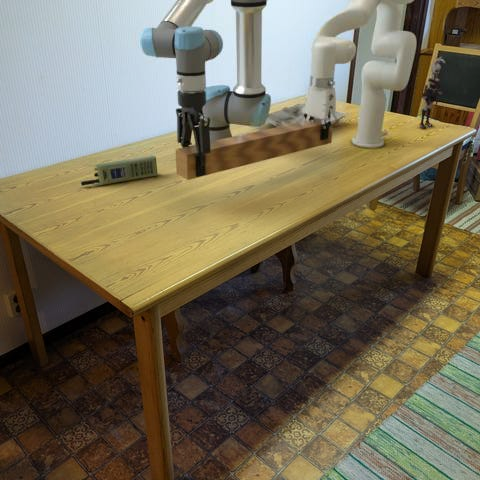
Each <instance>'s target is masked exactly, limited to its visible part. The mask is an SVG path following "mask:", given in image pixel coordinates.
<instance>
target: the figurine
mask: <svg viewBox="0 0 480 480" xmlns="http://www.w3.org/2000/svg"><path fill="white" fill-rule="evenodd" d="M441 62H442V63H443V64H446V61H445V60H444V59H443V56H440V57H438V58H435V59H434V61H433V63H432V65H431V66H430V71H431V72H432V73H431V75H429V77H428V80H427V82H426V84H425V85H424V90H423V92H422V93H421V95H420V96H421V98H422V100H424V105H423V106H424V107H423V108H422V110H421V119H420V123H419V128H420V129H423V130H426V129H427V127H430V128H431V127H433V123H431V122H430V116H431V111H432V107H433V105H434V103H435V106H434V108H437V105H438V103H439V95H442V94H443V89H442V87H441V85H440V81H441V80H440V79H439V77H438V75H439V74H440V71H441V69H442V66H441V64H440V63H441ZM429 84H430V85H429ZM437 89H438V90H437ZM425 116H426V120H425ZM424 121H425V122H424Z"/></svg>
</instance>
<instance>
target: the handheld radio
mask: <svg viewBox="0 0 480 480" xmlns="http://www.w3.org/2000/svg"><path fill="white" fill-rule="evenodd" d="M157 164H158V163H157V156H156V155H147V156H141V157H140V156H139V157H134V158H127V159H121V160H115V161H108V162H101V163H96V164H93V167H94V168H93V171H97V172H95V173H94V174H93V175H94V177H96V179H90V180H83V181H82V180H81V181H80V185H81V186H88V185H93V184H94V185H96V186H97V187H98V186H99V187H100V186H105V185H109V184H115V183H121V182H128V181H134V180H139V179H144V178H151V177H156V176H158V175H159V174H158V165H157Z"/></svg>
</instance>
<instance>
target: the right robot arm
mask: <svg viewBox="0 0 480 480" xmlns="http://www.w3.org/2000/svg"><path fill="white" fill-rule="evenodd" d="M414 1H415V0H350V1H349V3H348V5H347V6H346V8H344V9H343V10H341V11H339V12H338V13H336V14H334V15H333V16H332V17H331V18H329V19H328V20H326V21H325V22H324V23H323V24H322V25H321V27H320V28H319V30H318V32H317V33H316V36H315V37H314V39H313V41H312V45H311V62H310V73H309V74H310V77H309V84H308V87H307V90H306V96H305V103H304V104H305V106H304V107H303V108H302V112H303V114H304V117H305V119H306V121H308V120H312V119H315V118H318V119H321V121H322V126H323V128H321V136H320V140H325V139H328V135H329V128H330V127H331V126H332V125H333V124H334V123H335V122H336V121H337V117H336V115H335V111H336V109H337V108H336V107H337V105H336V104H337V101H336V100H337V95H336V88H335V87H334V86H335V85H336V81H334V80H335V72H336V71H335V70H336V65H344V64H345V65H346V64H348V63H350V62H352V60H353V59H354V58H355V56H356V52H357V47H356V44H355V42H354V41H353V40H351V39H349V38H343V37H337V36H339V35H341V34H343V33H345V32H349V31H353V30H356V29H359V28H362V27H364V26H366V25H367V24H368V23H369V22H370V20H371V18H372V16H373V15H374V14H375V12H376V19H375V26H374V31H373V35H372V40H371V47H370V49H371V54H373V55H374V56H376V57H379V58H387V59H394V60H396V62H393V61H387V60H386V61H385V60H378V59H377V60H376V59H375V60H369V61H367V62H366V63H364V65H363V67H362V69H361V97H360V104H359V112H358V118H357V119H358V120H357V127H356V135H355V136H354V137H352V138H351V143H352V144H353V145H355V146H357V147H359V148H367V149H377V148H380V147H384V145H385V141H384V139H383V137H384V136H387V135H388V134H389V133H388V131H387V130H383V125H384V119H385V113H386V105H387V95H386V92H385V90H389V91H395V92H401V91H404V89H406V87H407V86H408V83H409V81H410V76H411V72H412V68H413V64H414V59H415V55H416V51H417V37H416V35H415V34H414V33H413V32H411V31H408V30H400V26H401V20H402V10H401V8H400V6H399V5H404V4H405V5H406V4H411V3H413V2H414ZM330 118H331V120H330ZM325 120H326V121H327V123H326V122H325Z"/></svg>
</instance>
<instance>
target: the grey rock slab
mask: <svg viewBox="0 0 480 480" xmlns="http://www.w3.org/2000/svg"><path fill="white" fill-rule="evenodd" d="M304 106H305V103H304V104H302V103H297V104H294V105H292V106H289V107H287V106H285V107H282V108H281V109H280V110H276V111H273V112H271V113H269V114H268V117H267V120H266V122H265V123H268V124H271V125H273V126H275V127H280V126H285V125H289V124H294V123H299V122H303V121H306V119H305V117H304V114H303V112H302V108H303V107H304ZM335 115H336V117H337V121H336V122H335V123H334V124H333V127H337V126H339V124H340V121H341V120H342V119H344V118H345V117H348V116H350V113H344V112H339V111H336V110H335ZM315 119H317V118H315ZM330 120H331V118H330Z"/></svg>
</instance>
